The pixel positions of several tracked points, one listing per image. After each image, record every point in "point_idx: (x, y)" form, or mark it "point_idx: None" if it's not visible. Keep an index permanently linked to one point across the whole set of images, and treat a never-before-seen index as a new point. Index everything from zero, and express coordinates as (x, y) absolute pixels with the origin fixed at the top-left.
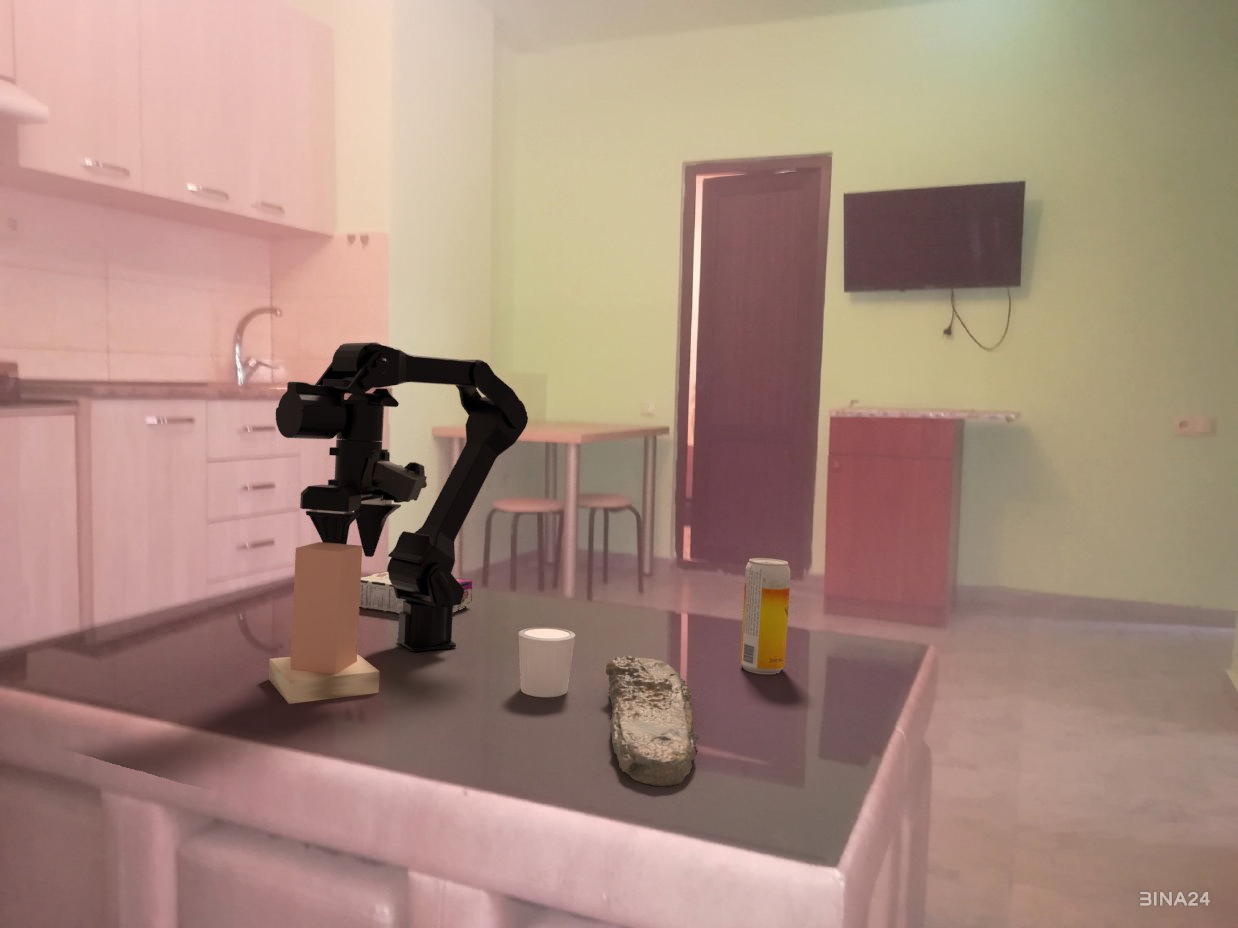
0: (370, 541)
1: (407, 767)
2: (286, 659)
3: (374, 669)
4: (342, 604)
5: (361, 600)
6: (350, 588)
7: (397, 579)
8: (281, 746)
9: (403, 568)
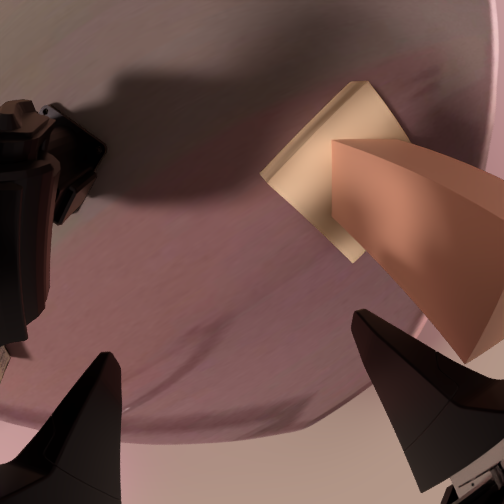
0: (103, 402)
1: (485, 18)
2: (351, 242)
3: (360, 92)
4: (468, 167)
5: (2, 355)
6: (468, 177)
7: (49, 257)
8: (487, 122)
9: (34, 253)
